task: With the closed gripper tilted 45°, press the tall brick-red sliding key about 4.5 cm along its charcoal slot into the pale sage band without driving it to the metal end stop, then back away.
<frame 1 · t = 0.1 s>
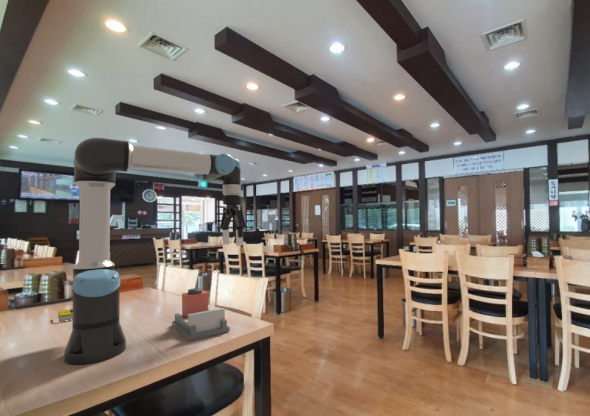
hand: (232, 245, 131), 28 cm above the table, tool pointing down, fingers open, 13 cm apart
emergency button: (75, 319, 128), on the table
sliding key: (195, 305, 114), point 7 cm above the table, slide at 0.0 cm
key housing: (199, 328, 110), on the table
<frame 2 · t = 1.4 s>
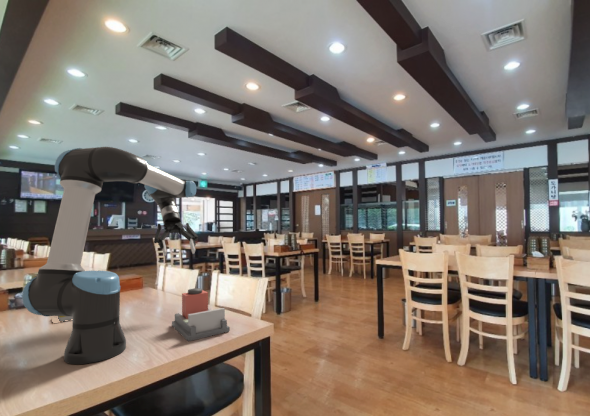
hand: (180, 252, 131), 25 cm above the table, tool tilted 45°, fingers open, 11 cm apart
nothing on the table moved.
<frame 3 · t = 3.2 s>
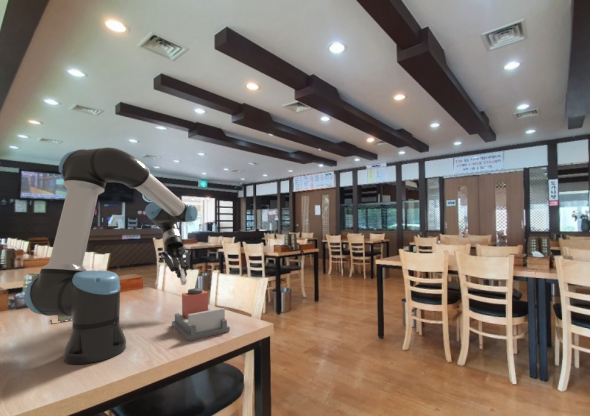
hand: (184, 282, 128), 13 cm above the table, tool tilted 45°, fingers closed
nothing on the table moved.
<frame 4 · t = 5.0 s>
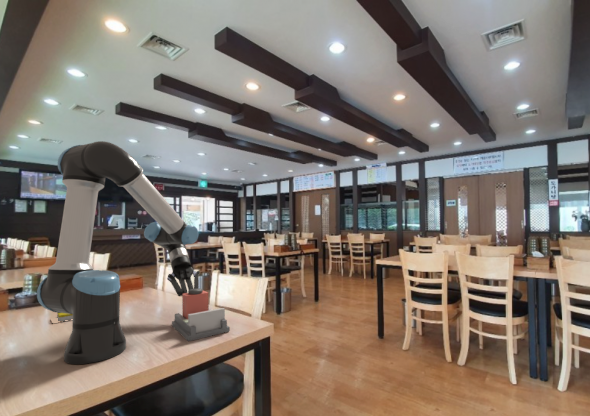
hand: (192, 309, 117), 5 cm above the table, tool tilted 45°, fingers closed
sliding key: (195, 305, 114), point 7 cm above the table, slide at 0.5 cm, touching gripper
everything else where it was.
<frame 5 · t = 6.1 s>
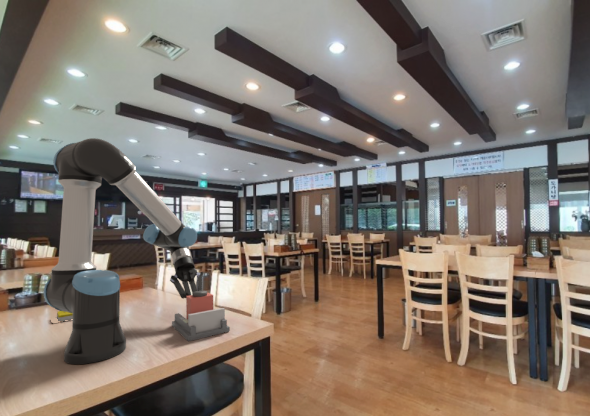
hand: (196, 311, 113), 5 cm above the table, tool tilted 45°, fingers closed
sliding key: (199, 308, 110), point 7 cm above the table, slide at 5.4 cm, touching gripper
everything else where it was.
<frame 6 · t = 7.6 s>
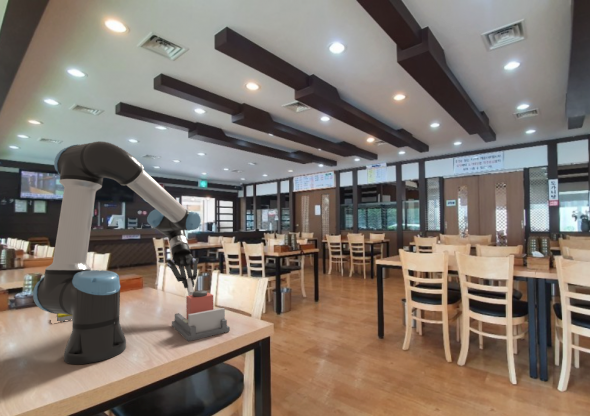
hand: (191, 293, 121), 10 cm above the table, tool tilted 45°, fingers closed
sliding key: (199, 308, 110), point 7 cm above the table, slide at 5.5 cm
everything else where it was.
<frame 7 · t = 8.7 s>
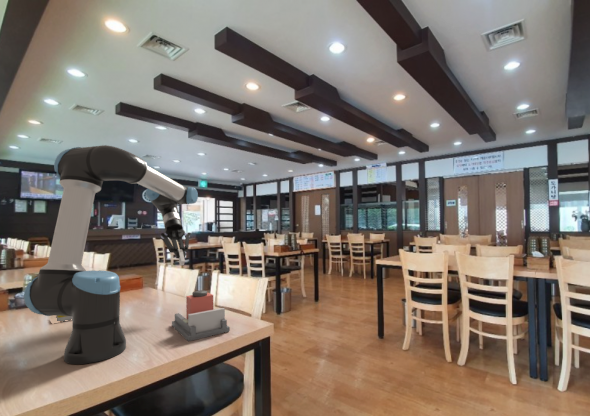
hand: (182, 263, 128), 21 cm above the table, tool tilted 45°, fingers closed
nothing on the table moved.
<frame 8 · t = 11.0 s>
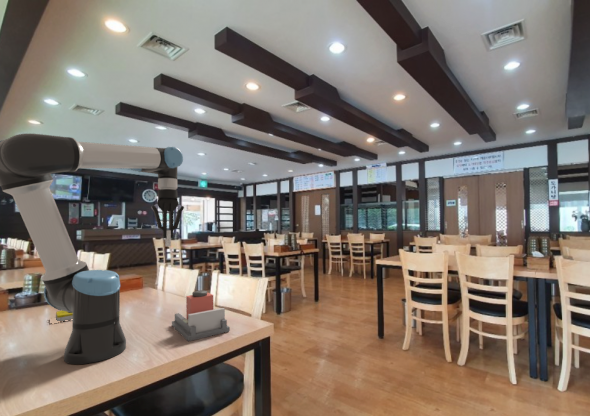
hand: (168, 246, 128), 28 cm above the table, tool pointing down, fingers closed
nothing on the table moved.
at the end: sliding key slide at 5.5 cm; the gripper is holding nothing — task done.
